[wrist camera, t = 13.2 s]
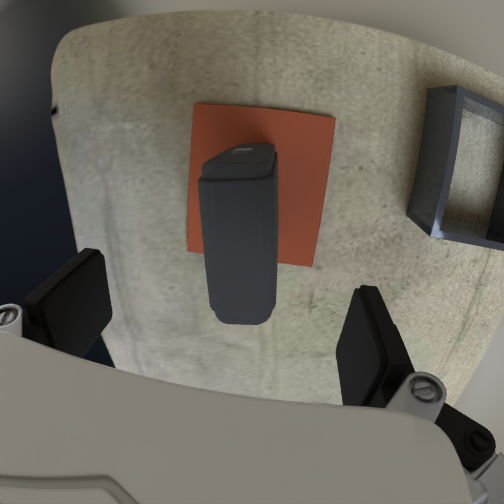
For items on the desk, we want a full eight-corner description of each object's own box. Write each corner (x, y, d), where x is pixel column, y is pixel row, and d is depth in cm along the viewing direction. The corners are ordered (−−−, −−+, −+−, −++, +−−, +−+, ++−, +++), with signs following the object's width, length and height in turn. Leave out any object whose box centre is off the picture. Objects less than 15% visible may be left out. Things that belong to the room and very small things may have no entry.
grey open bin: (427, 88, 24) (457, 84, 18) (513, 124, 23) (546, 130, 18) (406, 215, 29) (429, 237, 24) (491, 233, 29) (518, 254, 23)
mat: (196, 104, 27) (193, 103, 26) (334, 118, 26) (335, 118, 26) (189, 248, 33) (187, 251, 32) (311, 263, 33) (311, 267, 32)
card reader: (233, 139, 27) (185, 160, 14) (277, 138, 27) (273, 157, 13) (237, 232, 31) (204, 325, 17) (278, 232, 31) (275, 328, 17)
